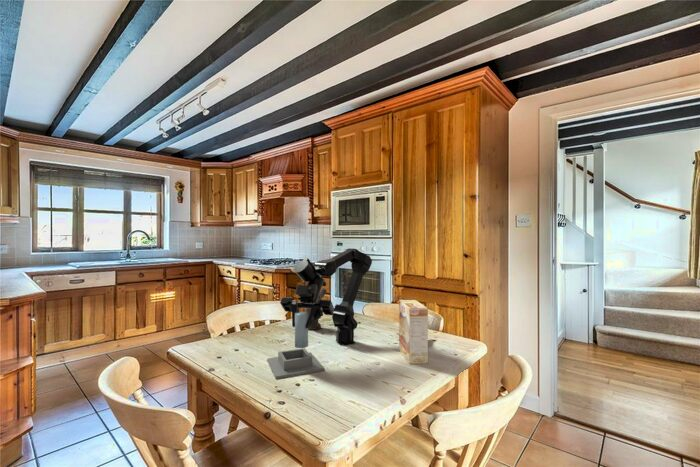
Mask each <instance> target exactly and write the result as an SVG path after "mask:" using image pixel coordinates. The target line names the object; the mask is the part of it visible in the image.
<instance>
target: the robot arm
mask: <svg viewBox="0 0 700 467" xmlns="http://www.w3.org/2000/svg"><path fill="white" fill-rule="evenodd" d="M348 262H349V263H351V264H350V265H351V270H352V271H351V276H350V277H349V280H348V284H347V286H346V289H345V293H344V294H343V298H342V301H341V302H340V303H339V304H338V303H336V304H335V305H333V302H332V301H331V299H323V298H322V299H321V300H320V301H319V303H317V300H318V299H320V295H319V294H320V291H321V289H322V288H323V287H327V282H326V280H325V279H324V278H323V277H326V278H330V277H332V276H333V275H334V274H335V273H336V272H337V269H338V268H340V267H341V266H343V265H345V264H346V263H348ZM372 264H373V260H372V257H371V256H370V255H367V253H364V252H362V251H360V250H359V249H357V248H349V247H348V248H347V249H345V250H344V251H342V252H340V253H338V254H336V255H335V256H333V257H331V258H327V259H321V260H318V261H315V263H314V264H313V263H312V261H311V260H310V259H309V258H307V257H305V258H303V260H300V261H299V262H298V263H296V264H295V265H294V267H293V271H294V272H295V274H296V275H297V276H298V277H299V278H300V279H301V281H302V282H304V283H306V282H307V283H306V284H296V289H295V293H294V294H295V295H297V296H298V297H297V299H298V300H299V301H298V300H296V299H295V298H294V297H289V296H288V297H287V296H283V297H282V298H281V299H280V303H279V304H280V305H281V307H282V309H283V311H284V312H287V313H291V316H292V317H291V319H292V320H291V322H292V325H291V327H292V328H295V313H297V312H301V311H300V309H305V308H307V309H311V312H310V315H309V318H308V320H307V323H306V329H307V328H308V327H309V326H310V325H311V324H312V323H313V322H314V321H316V320H317V319H318V318H319V317H320V316H321V317H324V315H325V316H331V319H332V323H333V325H334V327H335V328H337V330H336V331H335V334H336V335H335V341H336V343H338V344H339V345H340V346H346V345H352V344H356V341H355V340H354V339H355V336H354V335H355V334H354V333H355V331H354V330H356V329H357V328H358V325H359V324H358V321H357V320H356V319H355V317H354V315H355V310H354V303H355V301H356V298H357V295H358V292H359V290H360V286H361V284H362V281H363V277H364V276H365V275H366V274H367V273H368V272H369V270H370V268H371V266H372Z"/></svg>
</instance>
